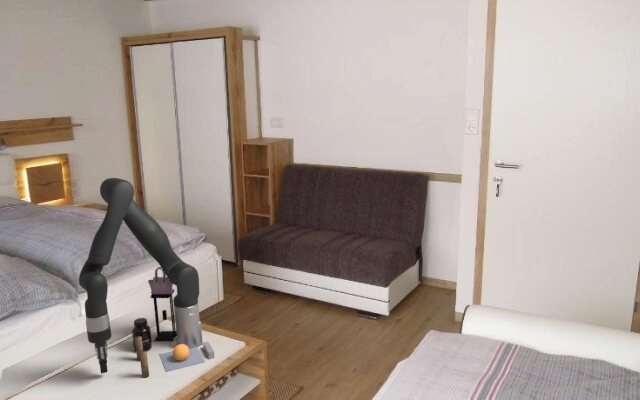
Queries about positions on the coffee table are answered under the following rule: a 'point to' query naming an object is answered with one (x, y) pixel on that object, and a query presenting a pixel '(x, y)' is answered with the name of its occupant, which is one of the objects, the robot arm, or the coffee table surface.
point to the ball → (181, 352)
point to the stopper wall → (208, 350)
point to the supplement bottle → (142, 333)
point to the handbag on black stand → (159, 289)
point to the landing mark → (174, 364)
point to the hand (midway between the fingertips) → (104, 371)
